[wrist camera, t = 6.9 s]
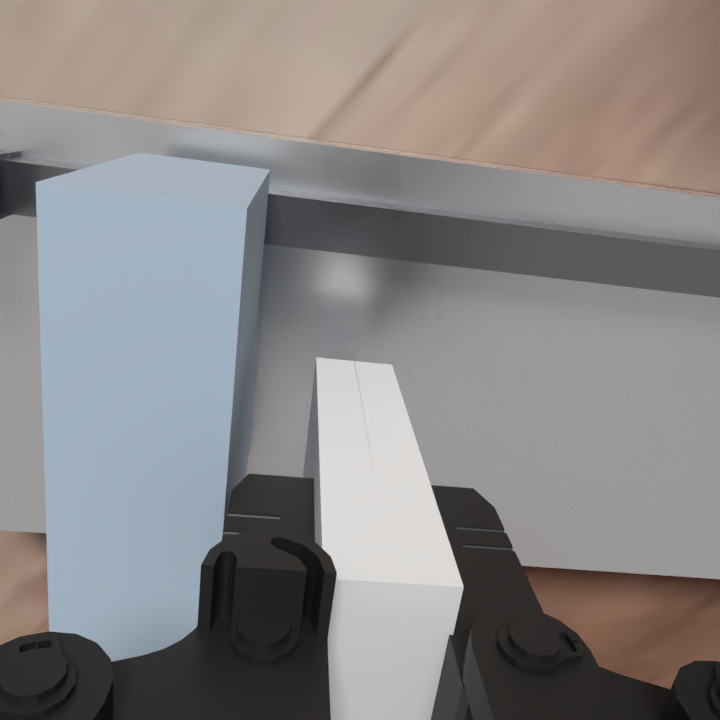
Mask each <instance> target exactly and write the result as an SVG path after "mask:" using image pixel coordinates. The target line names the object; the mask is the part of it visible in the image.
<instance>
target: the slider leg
mask: <svg viewBox="0 0 720 720" xmlns="http://www.w3.org/2000/svg"><path fill="white" fill-rule="evenodd" d="M269 179H270V169H262V168H255V167H247V166H239V165H231V164H224V163H216V162H208V161H201V160H193V159H185V158H178V157H170V156H162V155H155V154H147V153H137V154H133V155H129V156H126V157H122V158H119V159H115V160H112V161H108V162H105V163H101V164H98V165H94V166H91V167H87V168H84V169H80V170H77V171H73V172H70V173H66V174H62V175H59V176H55V177H52V178H48V179H45V180H41V181H38V182H36V212H37V244H38V277H39V310H40V343H41V376H42V408H43V441H44V474H45V507H46V540H47V572H48V605H49V632H61V633H74V634H78V635H80V636H82V637H85V638H87V639H89V640H92V641H94V642H96V643H98V644H99V646H100V647H101V648H102V649H103V650H104V651H105V653H106V654H107V655H108V656H109V657H110V659H111V662H112V661H117V660H122V659H127V658H132V657H137V656H142V655H145V654H149V653H152V652H155V651H159V650H162V649H164V648H166V647H168V646H170V645H172V644H174V643H176V642H178V641H180V640H182V639H183V638H184V637H185V636H187V635H188V634H189V633H191V632H192V631H193V630H194V629H195V628H196V627H197V625H198V608H199V591H200V574H201V564H202V562H203V561H204V559H205V557H206V555H207V553H208V552H209V550H210V549H211V548H212V547H214V546H215V545H217V544H218V543H219V542H221V541H222V536H223V532H224V526H225V521H226V516H227V511H228V506H229V501H230V496H231V491H232V490H233V489H234V488H235V487H236V486H237V485H238V484H239V483H240V482H241V481H242V480H243V479H244V478H245V477H246V472H247V463H248V451H249V440H250V428H251V416H252V405H253V393H254V381H255V370H256V358H257V346H258V335H259V329H257V321H258V310H259V298H260V286H261V274H262V262H263V250H264V239H265V227H266V215H267V203H268V191H269Z"/></svg>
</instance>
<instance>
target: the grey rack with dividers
mask: <svg viewBox="0 0 720 720" xmlns="http://www.w3.org/2000/svg"><path fill="white" fill-rule="evenodd" d="M137 153H147V154H155V155H162V156H170V157H178V158H185V159H193V160H201V161H208V162H216V163H224V164H231V165H239V166H247V167H255V168H262V169H270V179H269V191H268V203H267V215H266V227H265V239H264V250H263V262H262V274H261V286H260V298H259V310H258V321H257V329H259V335H258V346H257V358H256V370H255V381H254V393H253V405H252V416H251V428H250V440H249V451H248V463H247V472H246V476H247V475H248V474H249V473H250V474H263V475H276V476H289V477H302V478H303V469H304V460H305V451H306V443H307V434H308V425H309V416H310V408H311V399H312V390H313V381H314V373H315V364H316V357H317V358H328V359H338V360H349V361H359V362H369V363H380V364H390V365H392V366H393V370H394V373H395V376H396V379H397V382H398V385H399V388H400V391H401V394H402V397H403V400H404V404H405V407H406V410H407V413H408V416H409V419H410V422H411V425H412V428H413V431H414V435H415V438H416V441H417V444H418V447H419V450H420V453H421V456H422V459H423V462H424V465H425V469H426V472H427V475H428V478H429V481H430V484H431V485H437V486H449V487H462V488H474V489H475V490H476V491H477V492H478V493H479V494H480V495H481V496H482V497H484V498H485V499H486V500H487V501H488V502H489V503H490V504H491V505H492V506H494V507H495V509H496V512H497V514H498V516H499V518H500V520H501V522H502V525H503V527H504V533H507V535H508V537H509V540H510V542H511V544H512V546H513V551H515V553H516V555H517V557H518V559H519V561H520V563H521V565H522V566H533V567H548V568H562V569H577V570H591V571H606V572H621V573H635V574H650V575H665V576H679V577H694V578H709V579H720V194H715V193H707V192H700V191H693V190H685V189H678V188H671V187H663V186H656V185H649V184H641V183H634V182H627V181H619V180H612V179H605V178H597V177H590V176H582V175H575V174H568V173H560V172H553V171H546V170H538V169H531V168H524V167H516V166H509V165H502V164H494V163H487V162H479V161H472V160H465V159H457V158H450V157H443V156H435V155H428V154H421V153H413V152H406V151H399V150H391V149H384V148H376V147H369V146H362V145H354V144H347V143H340V142H332V141H325V140H318V139H310V138H303V137H296V136H288V135H281V134H273V133H266V132H259V131H251V130H244V129H237V128H229V127H222V126H215V125H207V124H200V123H193V122H185V121H178V120H170V119H163V118H156V117H148V116H141V115H134V114H126V113H119V112H112V111H104V110H97V109H90V108H82V107H75V106H67V105H60V104H53V103H45V102H38V101H31V100H23V99H16V98H9V97H0V530H6V531H20V532H35V533H46V507H45V474H44V441H43V408H42V376H41V343H40V310H39V277H38V244H37V212H36V182H38V181H41V180H45V179H48V178H52V177H55V176H59V175H62V174H66V173H70V172H73V171H77V170H80V169H84V168H87V167H91V166H94V165H98V164H101V163H105V162H108V161H112V160H115V159H119V158H122V157H126V156H129V155H133V154H137Z"/></svg>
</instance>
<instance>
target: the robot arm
mask: <svg viewBox="0 0 720 720" xmlns="http://www.w3.org/2000/svg"><path fill="white" fill-rule="evenodd" d="M0 720H720V662H718V661H694V662H692V663H690V664H688V665H685V666H683V667H681V668H680V670H679V672H678V674H677V676H676V678H675V680H674V682H673V685H672V688H671V690H670V689H667V688H663V687H660V686H657V685H653V684H650V683H647V682H643V681H640V680H636V679H633V678H630V677H626V676H623V675H620V674H617V673H614V672H612V671H609V670H606V669H604V668H601V667H599V666H598V664H597V662H596V661H595V659H594V657H593V655H592V653H591V651H590V650H589V649H588V647H587V646H586V645H585V643H584V642H583V641H582V639H581V638H580V637H579V635H578V634H577V633H575V632H574V631H573V630H571V629H570V628H569V627H567V626H566V625H565V624H563V623H562V622H561V621H559V620H557V619H555V618H553V617H551V616H549V615H546V614H544V613H543V611H542V609H541V606H540V604H539V602H538V600H537V598H536V596H535V594H534V591H533V589H532V587H531V585H530V583H529V581H528V578H527V576H526V574H525V572H524V570H523V568H522V565H521V563H520V561H519V559H518V557H517V555H516V553H515V551H513V546H512V544H511V542H510V540H509V537H508V535H507V533H504V527H503V525H502V522H501V520H500V518H499V516H498V514H497V512H496V509H495V507H494V506H492V505H491V504H490V503H489V502H488V501H487V500H486V499H485V498H484V497H482V496H481V495H480V494H479V493H478V492H477V491H476V490H475V489H474V488H462V487H449V486H437V485H431V484H430V481H429V478H428V475H427V472H426V469H425V465H424V462H423V459H422V456H421V453H420V450H419V447H418V444H417V441H416V438H415V435H414V431H413V428H412V425H411V422H410V419H409V416H408V413H407V410H406V407H405V404H404V400H403V397H402V394H401V391H400V388H399V385H398V382H397V379H396V376H395V373H394V370H393V366H392V365H390V364H380V363H369V362H359V361H349V360H338V359H328V358H317V357H316V364H315V373H314V381H313V390H312V399H311V408H310V416H309V425H308V434H307V443H306V451H305V460H304V469H303V478H302V477H289V476H276V475H263V474H250V473H249V474H248V475H247V476H246V477H245V478H244V479H243V480H242V481H241V482H240V483H239V484H238V485H237V486H236V487H235V488H234V489H233V490H232V491H231V496H230V501H229V506H228V511H227V516H226V521H225V526H224V532H223V536H222V541H221V542H219V543H218V544H217V545H215V546H214V547H212V548H211V549H210V550H209V552H208V553H207V555H206V557H205V559H204V561H203V562H202V564H201V574H200V591H199V608H198V625H197V627H196V628H195V629H194V630H193V631H192V632H191V633H189V634H188V635H187V636H185V637H184V638H183V639H182V640H180V641H178V642H176V643H174V644H172V645H170V646H168V647H166V648H164V649H162V650H159V651H155V652H152V653H149V654H145V655H142V656H137V657H132V658H127V659H122V660H117V661H112V662H111V659H110V657H109V656H108V655H107V654H106V653H105V651H104V650H103V649H102V648H101V647H100V646H99V644H98V643H96V642H94V641H92V640H89V639H87V638H85V637H82V636H80V635H78V634H74V633H61V632H44V633H38V634H33V635H27V636H22V637H18V638H16V639H14V640H11V641H9V642H7V643H4V644H2V645H0Z"/></svg>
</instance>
